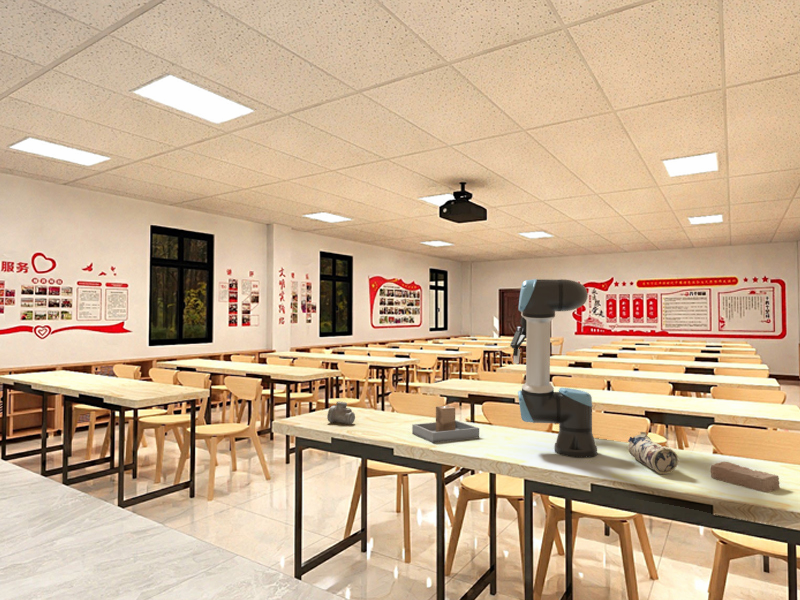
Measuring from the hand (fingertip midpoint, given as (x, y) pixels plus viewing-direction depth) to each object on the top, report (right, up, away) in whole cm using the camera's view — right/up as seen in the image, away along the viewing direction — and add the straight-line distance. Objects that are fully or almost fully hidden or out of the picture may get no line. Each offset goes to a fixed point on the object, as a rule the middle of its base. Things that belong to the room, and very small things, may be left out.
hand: (526, 364), depth 240 cm
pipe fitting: (-84, -29, +7) cm, 89 cm away
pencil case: (+28, -28, -61) cm, 73 cm away
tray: (-38, -28, -17) cm, 50 cm away
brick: (+48, -28, -78) cm, 96 cm away
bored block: (-38, -27, -17) cm, 50 cm away
